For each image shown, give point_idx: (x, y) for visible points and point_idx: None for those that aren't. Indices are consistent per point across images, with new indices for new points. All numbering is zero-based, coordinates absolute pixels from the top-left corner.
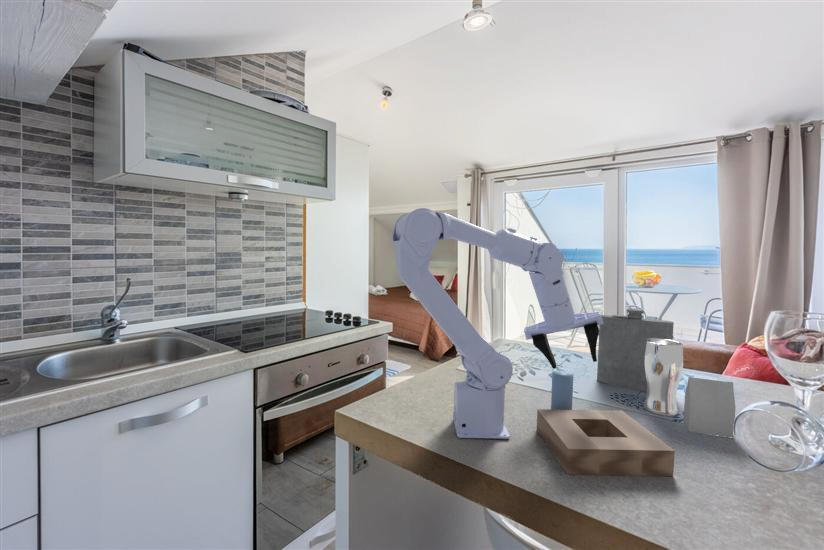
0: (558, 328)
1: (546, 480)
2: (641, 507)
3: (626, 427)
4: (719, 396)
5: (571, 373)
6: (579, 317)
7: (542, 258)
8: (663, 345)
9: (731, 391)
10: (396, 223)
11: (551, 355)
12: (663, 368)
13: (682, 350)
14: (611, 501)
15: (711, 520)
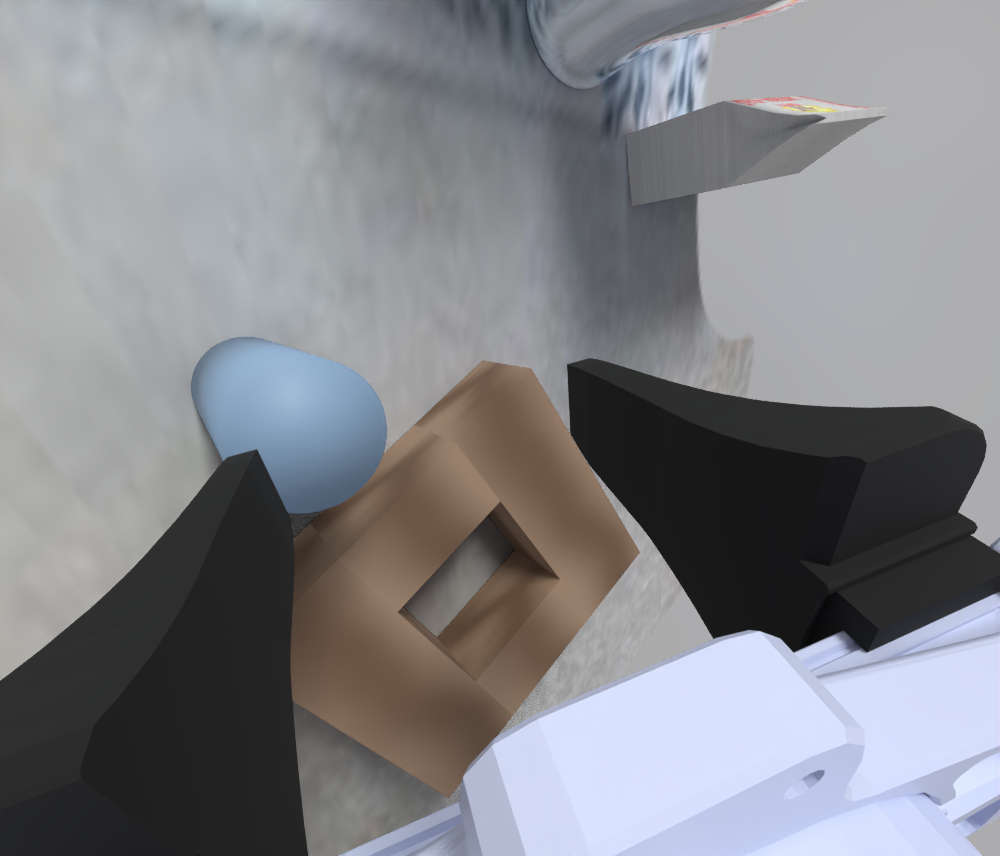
0: None
1: (380, 810)
2: (548, 692)
3: (552, 512)
4: (804, 157)
5: (361, 383)
6: (962, 815)
7: None
8: None
9: (847, 136)
10: None
11: (275, 608)
12: (772, 5)
13: None
14: (506, 729)
15: (626, 619)
